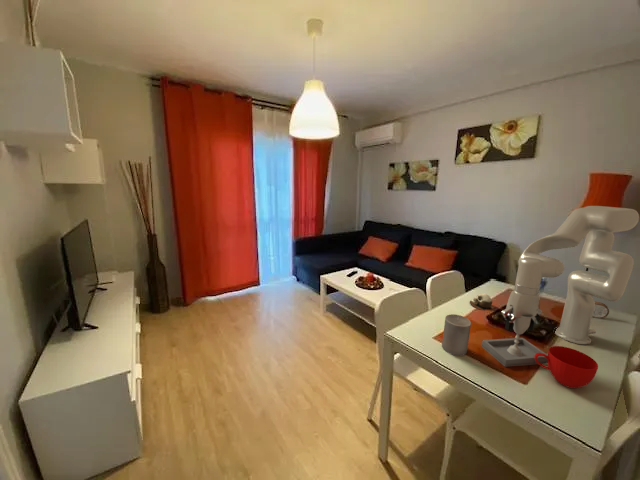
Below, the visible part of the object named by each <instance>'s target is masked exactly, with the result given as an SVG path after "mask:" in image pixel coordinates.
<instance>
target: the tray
mask: <svg viewBox="0 0 640 480" xmlns="http://www.w3.org/2000/svg"><path fill="white" fill-rule="evenodd" d="M519 338H520V339H519V340H518V341H519V343H518V344H517V346H518V347H519V348H520V349H521V353H522V355H521V356H515V355H512V354H510V353H509V352H508V351H507V349H508V348H509V347H510V346H511V345H514V344H515V342H514V340H516V338H515V337H513V338H498V339H497V338H496V339H495V338H494V339H483V340H481V348H482V349H484V350H485V351H486V353H487V352H488V353H489V354H490V355H491V356H492V357H493V358H494V359H496V360H497V361H498V363H500V365H502V366H504V368H506V367H508V368H509V367H519V366H533V365H539V364H538V363H537V362H536V361H535V358H534V356H535V354H537V353H543V354H545V355H547V356H548V353H546V352H544V351H543V350H542V349H540V348H539V347H537V346H535V345H534V344H533V343H531V342H530V341H528V340H527V339H526V338H524V337H519ZM537 360H538V361H539V362H540V363H541V364H543V365H545V364H548V360H547V358H546V357H544V356H538V357H537Z"/></svg>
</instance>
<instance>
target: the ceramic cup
mask: <svg viewBox="0 0 640 480" xmlns="http://www.w3.org/2000/svg"><path fill="white" fill-rule="evenodd" d="M547 355H548V356H547ZM547 355H545V354H543V353H537V354H535V356H534V358H535V361H536V362H537V363H538V364H537V365H539V366H541V367H542V368H544V369H545V370H548V371H549V372H550V373H551V375H552V376H553V377H554V379H555V380H556V382H558V383H559V384H561V385H563V386H565V387H568V388H571V389H579V388H582V387H585V386H587V385H588V384H590V383H591V382H592V381H593V380H594V378H595V377H596V374H597V372H598V368H599V365H598V362H597V361H596V360H595V359H594V358H592V357H591V356H589V355H588V354H586V353H584V352H582V351H579V350H577V349H575V348H572V347H566V346H563V345H562V346H561V345H553V346H550V347H549V348H548V352H547ZM538 356H544V357H546V358H547V360H548V363H547V365H545V364H541V363H540V362H539V361H538V360H537V357H538Z"/></svg>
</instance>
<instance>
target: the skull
mask: <svg viewBox="0 0 640 480" xmlns="http://www.w3.org/2000/svg"><path fill="white" fill-rule="evenodd" d="M492 304H493V300H492V298H491V296H490V295H488V294H487V293H485V292H484V293H479V294H477V295H476V296H474V297H473V299H471V300H470V301H469V305H470V306H471V307H473V308H475V309H478V310H481V311H487V310H490V309H494V308H495V307H494V306H493V305H492Z"/></svg>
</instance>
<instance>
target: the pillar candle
mask: <svg viewBox="0 0 640 480" xmlns="http://www.w3.org/2000/svg"><path fill="white" fill-rule="evenodd" d="M471 326H472V322H471V320H470V319H469V318H468V317H465V316H463V315H460V314H446V315H445V319H444V326H443V334H442V342H441V347H442V349H443V351H445V353H448V354H450V355H452V356H459V357H460V356H466V355H467V353H468V348H469V341H470V333H471Z"/></svg>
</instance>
